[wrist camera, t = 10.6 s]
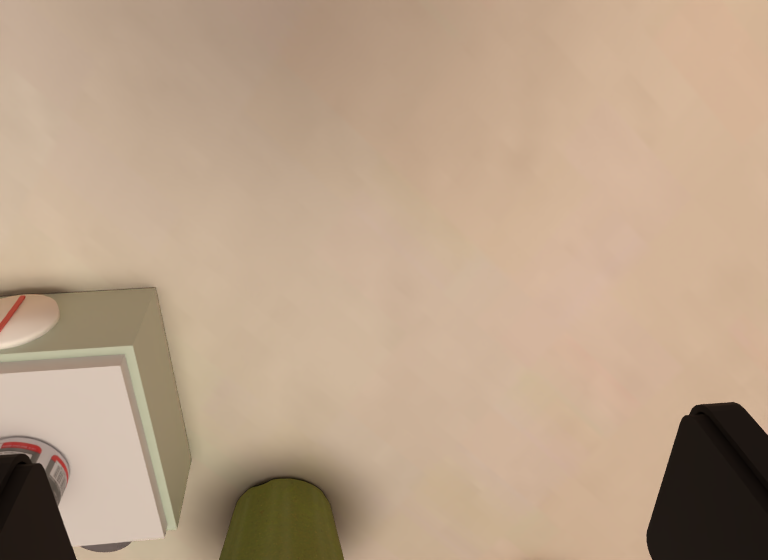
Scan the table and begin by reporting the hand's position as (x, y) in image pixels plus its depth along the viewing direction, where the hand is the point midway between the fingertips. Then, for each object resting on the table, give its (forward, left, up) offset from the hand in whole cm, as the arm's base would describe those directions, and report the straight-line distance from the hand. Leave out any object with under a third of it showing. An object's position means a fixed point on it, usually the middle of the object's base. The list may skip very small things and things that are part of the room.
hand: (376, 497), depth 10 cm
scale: (+19, -18, -28) cm, 38 cm away
